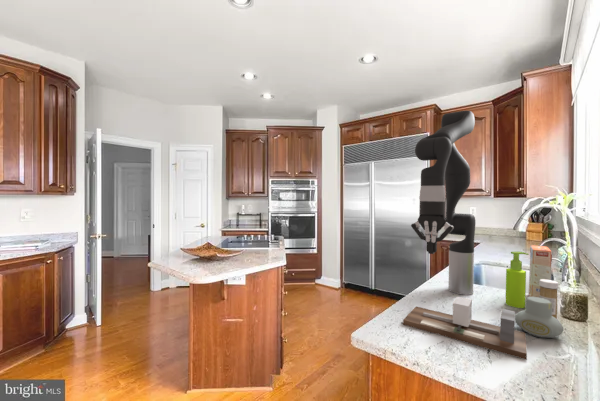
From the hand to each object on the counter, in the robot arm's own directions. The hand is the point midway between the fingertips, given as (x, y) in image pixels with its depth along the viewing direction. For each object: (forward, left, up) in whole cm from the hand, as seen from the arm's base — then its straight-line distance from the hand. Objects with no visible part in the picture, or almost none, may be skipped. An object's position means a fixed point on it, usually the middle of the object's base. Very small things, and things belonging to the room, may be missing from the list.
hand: (431, 253), depth 91 cm
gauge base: (+2, +9, -22) cm, 24 cm away
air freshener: (-11, +27, -22) cm, 37 cm away
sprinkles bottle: (-23, +30, -22) cm, 44 cm away
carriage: (+3, +9, -19) cm, 22 cm away
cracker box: (-47, +29, -22) cm, 59 cm away
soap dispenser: (-35, +22, -22) cm, 47 cm away
